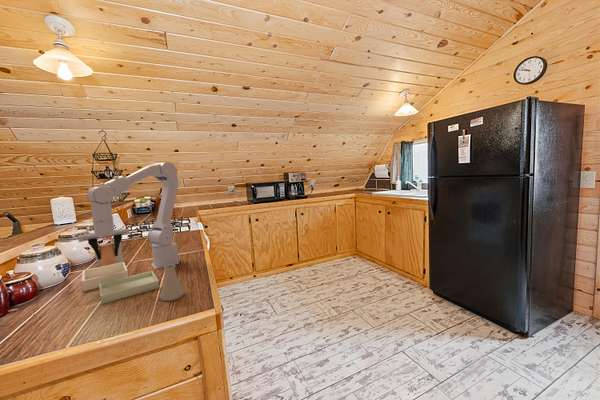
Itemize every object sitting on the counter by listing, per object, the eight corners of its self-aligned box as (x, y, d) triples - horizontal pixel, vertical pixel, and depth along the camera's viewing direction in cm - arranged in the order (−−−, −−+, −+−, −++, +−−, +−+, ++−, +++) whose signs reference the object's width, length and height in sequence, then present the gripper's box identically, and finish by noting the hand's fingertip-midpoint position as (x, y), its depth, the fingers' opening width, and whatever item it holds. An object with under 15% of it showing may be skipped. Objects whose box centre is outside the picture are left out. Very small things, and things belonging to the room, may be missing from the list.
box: (125, 271, 105) (124, 261, 105) (128, 281, 95) (127, 270, 95) (84, 280, 97) (82, 270, 97) (83, 292, 87) (81, 281, 87)
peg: (115, 260, 97) (113, 242, 96) (116, 263, 93) (114, 244, 93) (101, 263, 94) (98, 244, 93) (101, 266, 91) (98, 247, 90)
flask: (190, 292, 85) (187, 263, 83) (172, 303, 78) (169, 271, 77) (172, 289, 87) (169, 261, 86) (154, 300, 80) (151, 269, 79)
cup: (119, 266, 111) (117, 246, 110) (92, 270, 108) (89, 249, 107) (125, 261, 118) (123, 242, 117) (100, 264, 115) (97, 245, 114)
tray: (152, 277, 98) (152, 270, 98) (159, 287, 89) (158, 280, 89) (100, 290, 88) (99, 283, 88) (101, 304, 79) (100, 296, 79)
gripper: (126, 216, 99) (130, 250, 101) (77, 222, 90) (82, 259, 92) (128, 218, 94) (132, 254, 95) (75, 224, 85) (81, 264, 87)
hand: (108, 257), depth 93 cm, fingers closed on peg, 4 cm apart
